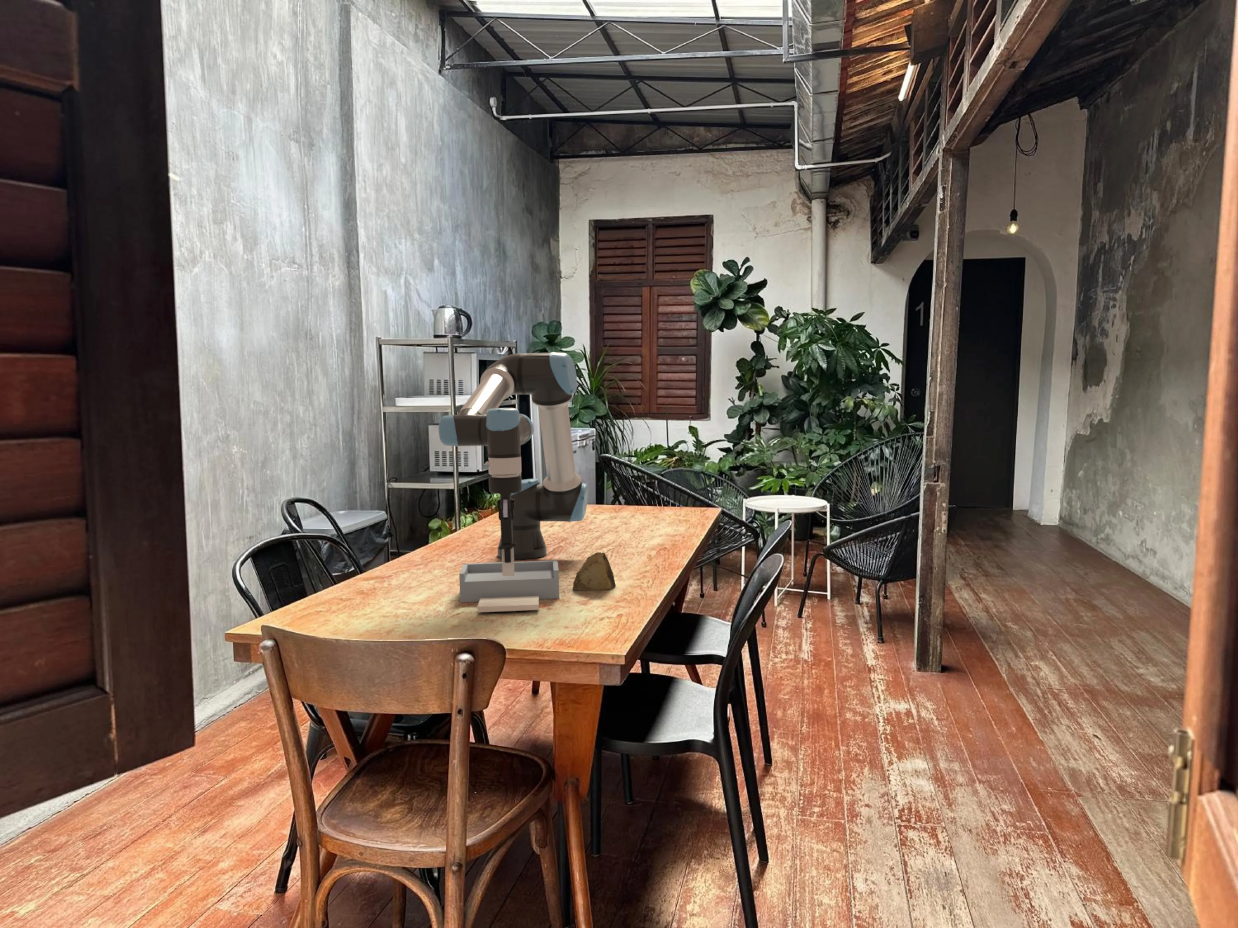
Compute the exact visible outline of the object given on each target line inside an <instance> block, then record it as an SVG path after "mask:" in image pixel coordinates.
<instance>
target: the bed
mask: <svg viewBox="0 0 1238 928" xmlns="http://www.w3.org/2000/svg"><path fill="white" fill-rule="evenodd" d="M559 573H560V571H559V562H558V560H557V559H556V560H555V559H554V560H529V561H514V576H503V575H502V561H499V562H473V563H472V562H471V563H463V564H462V567H461V569H460V572H459V574H458V575H459V576H458V577H459V600H460V601H459V603H475V602H476V603H477V602H478V603H479V601H480V598H500V597H525V596H539V600H549V599H553V600H554V599H560V576H559V575H560V574H559Z"/></svg>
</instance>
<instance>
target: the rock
mask: <svg viewBox="0 0 1238 928" xmlns="http://www.w3.org/2000/svg"><path fill="white" fill-rule="evenodd" d="M616 586H617V585H616V580H615V575H614V572H613V570H612V566H611V564H610V560H609V559H608V557H607V555H606V553H605V552H601V551H600V552H598V551H597V552H595V553H593V554H591V555H590V556H588V557H587V558H586V560H585V561H584V563H583V564H582V566H581V567H580V569H579V570H578V571H577V572H576V574H575V578H574V581H573V585H572V590H573V591H597V590H598V591H602V590H610V589H614V588H616Z"/></svg>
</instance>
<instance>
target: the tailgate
mask: <svg viewBox="0 0 1238 928" xmlns="http://www.w3.org/2000/svg"><path fill="white" fill-rule="evenodd" d="M476 609H477V610H476V613H491V612H492V613H494V612H516V611H520V612H521V611H522V612H523V611H537V610H538V611H539V610H540V599H539V596H525V597H500V598H480V601H479V602H478V604H477V607H476Z"/></svg>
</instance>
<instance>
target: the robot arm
mask: <svg viewBox="0 0 1238 928" xmlns="http://www.w3.org/2000/svg"><path fill="white" fill-rule="evenodd" d="M479 382H480V383H479V384H478V386H477V387H476V389H475V390H474V391H473V393H472V394H471V396H470V397H469V398H468V399H467V401H466V402H465V403H464V405H463V406H462V407H461V409H460V410H459V411H458V412H457V413H456V414H450V415H444V416H442V417H441V418H440V419H439V423H438V436H439V439H440V442H441V443H442V445H444V446H447V447H457V448H458V447H479V446H480V447H483V446H484V447H487V457H488V458H487V459H488V460H487V461H485V465H486V466H488V474H489V475H490V476H489V477H488V490H489V492H490V493H491V494H495V495H496V494H497V495H498V494H499V496H500V499H497V501H496V509H498V520H499V521H500V539H499V542H498V546H497V551H496V552H497V557H498V558H501V562H502V575H503V576H514V562H515V560H529V559H536V558H542V557H544V556H546V555H547V551H548V550H547V549H548V548H547V545H546V542H545V538H544V536H543V532H542V530H541V522H567V523H572V522H580V521H582V520H584V518H585V516H586V512H587V507H588V497H589V487H588V485H589V484H588V483H585V482H583V483H582V477H581V476H580V474H578V473H577V472H576V467H575V466H576V465H575V458H574V457H575V455H574V449H573V448H574V447H573V438H572V429H571V420H570V413H569V412H570V411H569V402H571V400H572V399H573V395H574V394H576V393H577V388H578V380H577V371H576V366H575V363H574V360H573V358H572V357H571V355H570V354H568V353H565V352H555V351H552V352H525V353H522V352H519V353H512V354H509V355H506V356H504V357H501V358H500V359H498V360H497V361H495V362H494V363H492V364H490V365H489V366H488V367H487V369H485V370H484V372H483V373H482V375H481V377H480V381H479ZM513 395H530V396H531V401H532V403H533V404H534V405H535V406H536V407H538V416H539V423H540V431H541V438H542V439H541V440H542V445H543V452H544V453H543V455H544V462H545V470H546V477H545V478H544V479H543V481H542V483H540V482H541V481H540V480H539V478H527V479H523V478H522V476H521V475H520V474H521V473H522V455H521V446H523V445H525V444H526V443H527V442H528V441H530V439H532V438H533V435H534V431H535V428H534V424H533V422H532V419H531V418H529V417H528V416H527V415H526V414H523V413H520V411H519V410H518V409H517V408H514V407H500V406H501V404H502V402H503V401H504V400H506V399H509V397H511V396H513Z"/></svg>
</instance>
